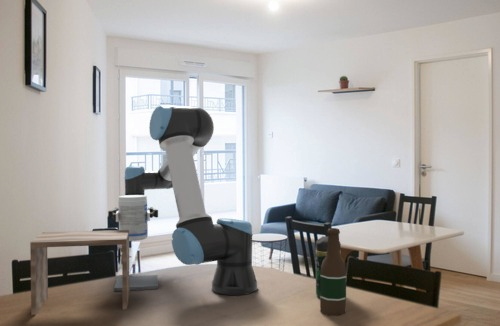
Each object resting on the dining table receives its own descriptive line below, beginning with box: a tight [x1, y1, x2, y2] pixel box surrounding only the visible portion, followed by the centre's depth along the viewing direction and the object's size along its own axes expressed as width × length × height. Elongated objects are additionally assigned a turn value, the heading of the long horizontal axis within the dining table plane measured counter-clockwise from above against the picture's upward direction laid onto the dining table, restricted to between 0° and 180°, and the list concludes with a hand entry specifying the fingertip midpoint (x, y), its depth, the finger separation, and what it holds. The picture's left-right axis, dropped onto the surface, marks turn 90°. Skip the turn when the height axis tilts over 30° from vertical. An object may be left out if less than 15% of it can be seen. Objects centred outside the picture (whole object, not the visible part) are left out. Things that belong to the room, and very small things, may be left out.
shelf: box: [29, 229, 130, 316], centre depth 147 cm, size 16×26×20 cm, turn 101°
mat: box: [113, 274, 159, 292], centre depth 168 cm, size 14×14×1 cm
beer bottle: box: [319, 227, 347, 317], centre depth 140 cm, size 8×8×24 cm
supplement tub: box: [117, 194, 148, 242], centre depth 166 cm, size 10×10×15 cm
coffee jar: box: [315, 236, 342, 298], centre depth 155 cm, size 10×8×19 cm
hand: (132, 217), depth 162 cm, fingers closed on supplement tub, 9 cm apart
